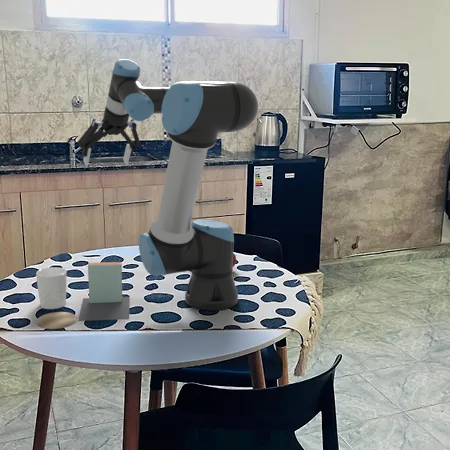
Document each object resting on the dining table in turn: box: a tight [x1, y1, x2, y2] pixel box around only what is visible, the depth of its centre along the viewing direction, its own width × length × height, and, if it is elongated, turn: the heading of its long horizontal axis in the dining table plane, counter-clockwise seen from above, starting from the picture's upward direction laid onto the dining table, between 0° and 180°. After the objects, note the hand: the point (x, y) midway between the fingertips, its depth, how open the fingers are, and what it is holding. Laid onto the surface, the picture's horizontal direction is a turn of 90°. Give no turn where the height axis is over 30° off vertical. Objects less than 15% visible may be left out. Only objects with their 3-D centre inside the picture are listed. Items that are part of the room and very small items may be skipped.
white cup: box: [35, 266, 67, 310], centre depth 161 cm, size 8×8×10 cm
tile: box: [87, 261, 123, 303], centre depth 164 cm, size 2×9×11 cm, turn 98°
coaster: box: [36, 311, 78, 330], centre depth 152 cm, size 10×10×1 cm
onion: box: [233, 252, 237, 268], centre depth 194 cm, size 6×6×8 cm
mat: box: [77, 296, 131, 322], centre depth 160 cm, size 16×13×1 cm
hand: (105, 162), depth 193 cm, fingers open, 13 cm apart
